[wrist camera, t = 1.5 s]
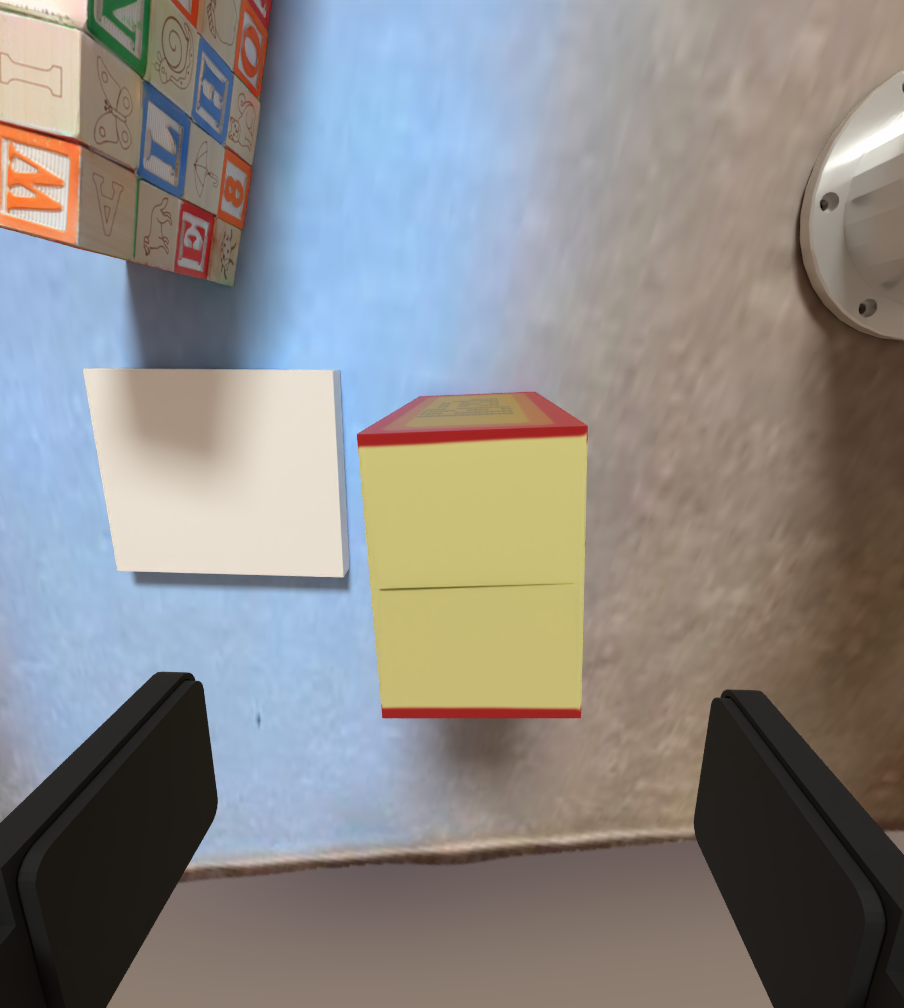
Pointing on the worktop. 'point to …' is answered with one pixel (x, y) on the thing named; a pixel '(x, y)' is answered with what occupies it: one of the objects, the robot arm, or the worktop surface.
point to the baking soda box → (477, 556)
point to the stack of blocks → (132, 126)
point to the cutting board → (222, 469)
